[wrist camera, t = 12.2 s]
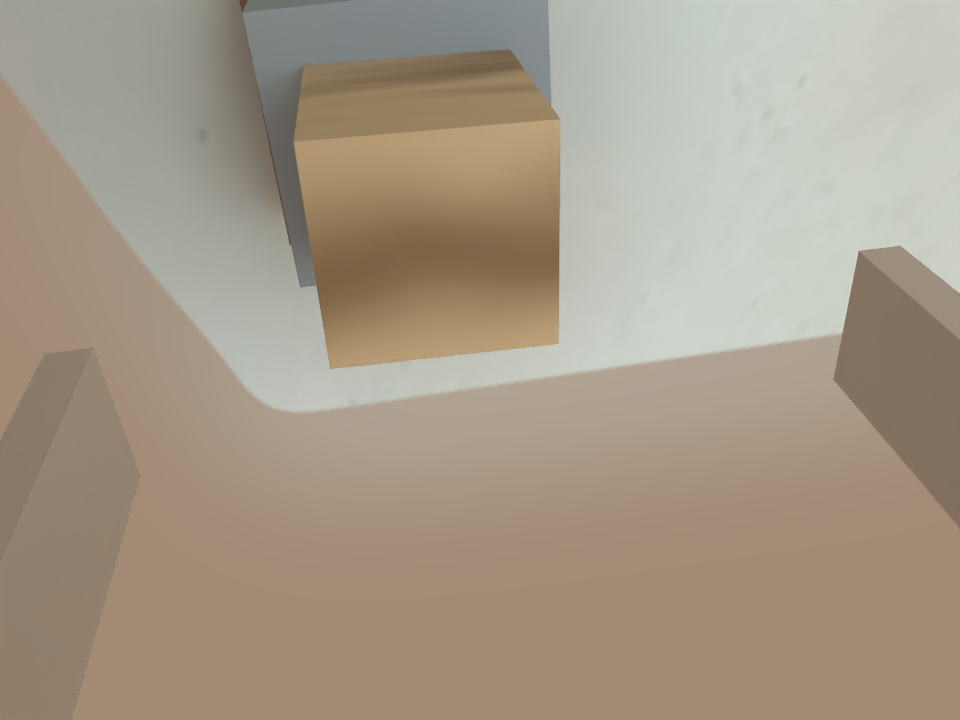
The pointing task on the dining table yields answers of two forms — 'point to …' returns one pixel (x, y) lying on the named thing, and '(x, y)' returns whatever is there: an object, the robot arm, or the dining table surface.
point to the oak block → (430, 205)
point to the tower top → (370, 36)
